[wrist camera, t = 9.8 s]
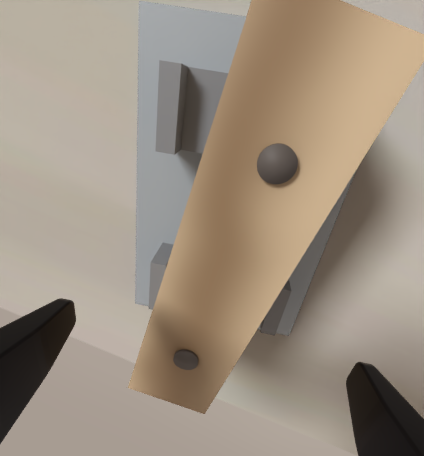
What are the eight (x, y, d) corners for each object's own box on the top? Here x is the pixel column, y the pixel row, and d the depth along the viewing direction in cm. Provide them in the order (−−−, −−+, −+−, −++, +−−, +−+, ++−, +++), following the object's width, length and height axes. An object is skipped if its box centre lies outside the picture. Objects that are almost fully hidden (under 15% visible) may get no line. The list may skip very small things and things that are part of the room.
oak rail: (360, 63, 11) (442, 37, 6) (215, 340, 19) (203, 418, 14) (257, 22, 11) (262, -36, 6) (156, 319, 19) (126, 391, 14)
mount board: (404, 42, 13) (446, 27, 10) (288, 331, 22) (293, 364, 19) (142, 3, 13) (114, -21, 11) (137, 300, 22) (121, 327, 20)
